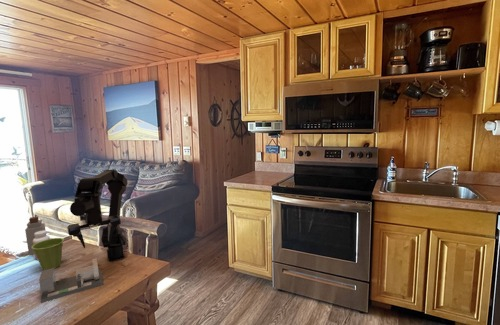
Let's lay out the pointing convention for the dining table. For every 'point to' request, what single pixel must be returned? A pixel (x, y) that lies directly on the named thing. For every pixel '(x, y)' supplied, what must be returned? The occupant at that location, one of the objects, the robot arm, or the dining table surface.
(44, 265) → the plant pot
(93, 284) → the gauge bench
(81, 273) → the block with end plate
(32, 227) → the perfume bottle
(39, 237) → the supplement bottle
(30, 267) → the dining table surface
